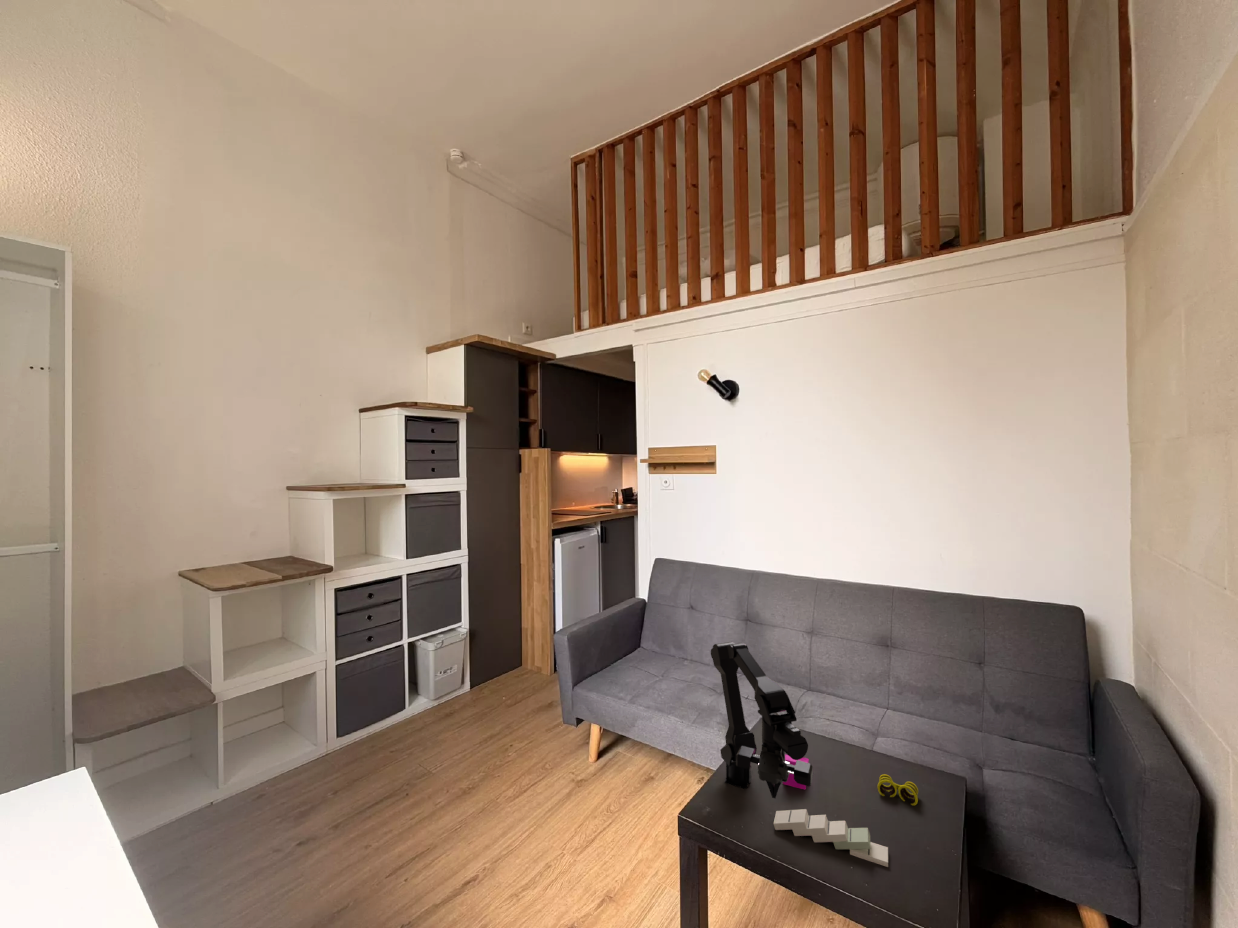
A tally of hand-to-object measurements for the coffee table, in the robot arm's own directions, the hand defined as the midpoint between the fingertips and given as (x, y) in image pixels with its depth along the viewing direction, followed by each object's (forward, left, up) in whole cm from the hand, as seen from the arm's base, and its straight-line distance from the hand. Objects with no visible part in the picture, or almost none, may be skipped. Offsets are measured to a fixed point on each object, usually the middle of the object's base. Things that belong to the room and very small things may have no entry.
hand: (774, 797), depth 127 cm
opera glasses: (+29, +26, -7) cm, 39 cm away
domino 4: (+18, 0, -6) cm, 19 cm away
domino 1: (0, 0, -6) cm, 6 cm away
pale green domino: (+15, 0, -6) cm, 16 cm away
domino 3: (+10, 0, -6) cm, 11 cm away
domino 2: (+5, 0, -6) cm, 8 cm away
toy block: (+2, +24, -7) cm, 26 cm away
